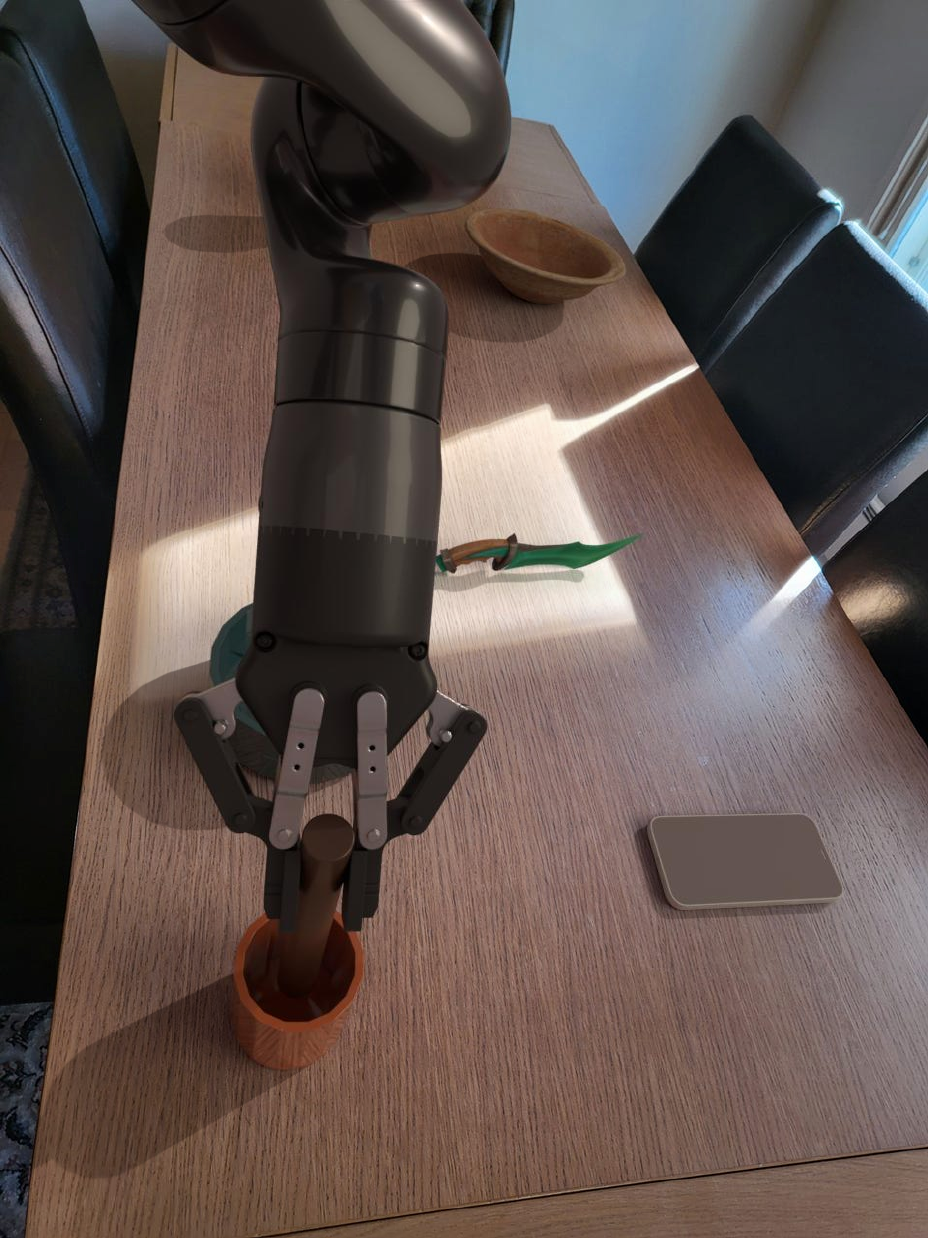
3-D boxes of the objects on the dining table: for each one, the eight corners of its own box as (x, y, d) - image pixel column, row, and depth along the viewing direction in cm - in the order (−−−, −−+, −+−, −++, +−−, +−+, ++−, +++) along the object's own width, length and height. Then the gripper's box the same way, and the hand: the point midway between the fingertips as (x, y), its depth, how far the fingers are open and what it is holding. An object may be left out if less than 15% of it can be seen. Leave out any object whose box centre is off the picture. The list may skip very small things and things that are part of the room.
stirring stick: (283, 1005, 47) (312, 869, 33) (272, 967, 48) (294, 821, 35) (321, 990, 47) (362, 851, 34) (308, 953, 49) (344, 806, 35)
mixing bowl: (240, 811, 59) (242, 767, 55) (189, 659, 66) (188, 610, 62) (419, 757, 65) (434, 714, 61) (354, 624, 73) (363, 577, 68)
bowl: (637, 312, 126) (658, 261, 120) (541, 350, 112) (559, 295, 106) (524, 239, 134) (538, 188, 128) (420, 266, 120) (431, 211, 114)
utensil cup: (250, 1091, 48) (256, 1055, 42) (217, 975, 52) (218, 926, 46) (362, 1040, 51) (382, 1000, 45) (324, 934, 55) (337, 884, 49)
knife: (434, 581, 78) (445, 543, 75) (429, 567, 80) (440, 529, 76) (630, 573, 86) (649, 538, 82) (623, 560, 87) (641, 525, 83)
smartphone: (646, 815, 65) (810, 812, 69) (642, 821, 66) (805, 817, 70) (674, 907, 61) (848, 898, 64) (669, 912, 61) (842, 903, 65)
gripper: (166, 506, 30) (137, 973, 31) (532, 540, 33) (494, 962, 34) (186, 514, 37) (162, 892, 38) (485, 542, 40) (455, 889, 41)
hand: (319, 923), depth 36 cm, fingers closed on stirring stick, 2 cm apart
